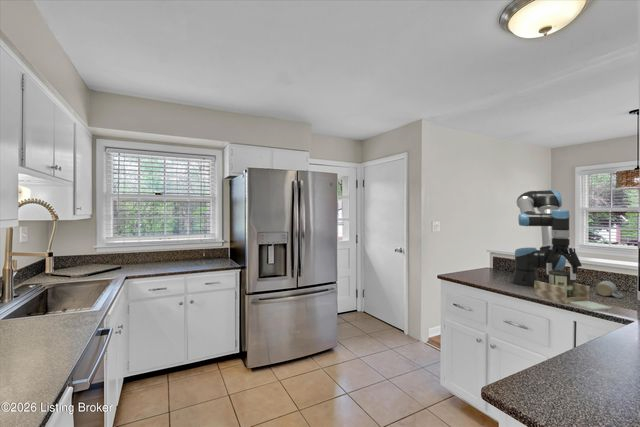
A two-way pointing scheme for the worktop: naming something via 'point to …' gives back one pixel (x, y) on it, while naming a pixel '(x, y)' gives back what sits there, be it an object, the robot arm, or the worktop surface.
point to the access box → (561, 292)
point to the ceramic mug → (608, 289)
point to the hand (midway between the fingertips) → (560, 276)
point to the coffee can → (562, 281)
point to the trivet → (590, 305)
